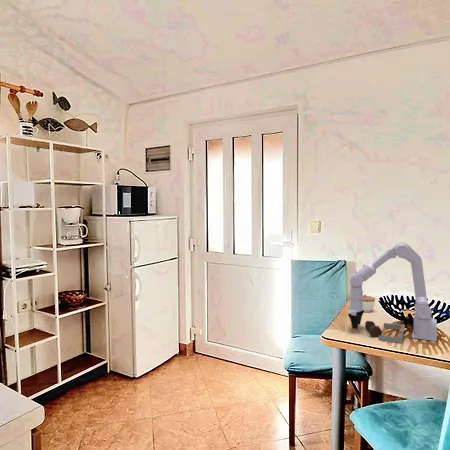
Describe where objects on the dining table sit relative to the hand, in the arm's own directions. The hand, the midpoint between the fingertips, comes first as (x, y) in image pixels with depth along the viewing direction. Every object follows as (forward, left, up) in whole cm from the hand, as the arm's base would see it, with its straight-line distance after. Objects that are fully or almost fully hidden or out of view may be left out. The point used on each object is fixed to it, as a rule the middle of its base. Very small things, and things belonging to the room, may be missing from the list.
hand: (356, 326), depth 176 cm
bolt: (-7, +1, -2) cm, 8 cm away
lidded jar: (+2, -38, -2) cm, 38 cm away
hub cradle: (-15, 0, -1) cm, 15 cm away
